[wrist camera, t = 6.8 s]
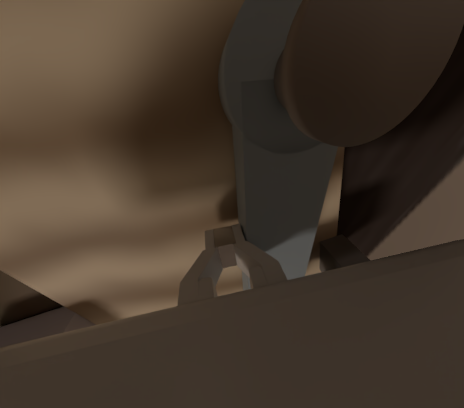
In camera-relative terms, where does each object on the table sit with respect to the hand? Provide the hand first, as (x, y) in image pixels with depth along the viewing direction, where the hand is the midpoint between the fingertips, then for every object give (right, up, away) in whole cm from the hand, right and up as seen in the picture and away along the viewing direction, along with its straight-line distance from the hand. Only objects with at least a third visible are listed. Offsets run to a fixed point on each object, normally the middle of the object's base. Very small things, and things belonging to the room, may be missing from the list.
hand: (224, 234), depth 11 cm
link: (+3, +1, +1) cm, 3 cm away
